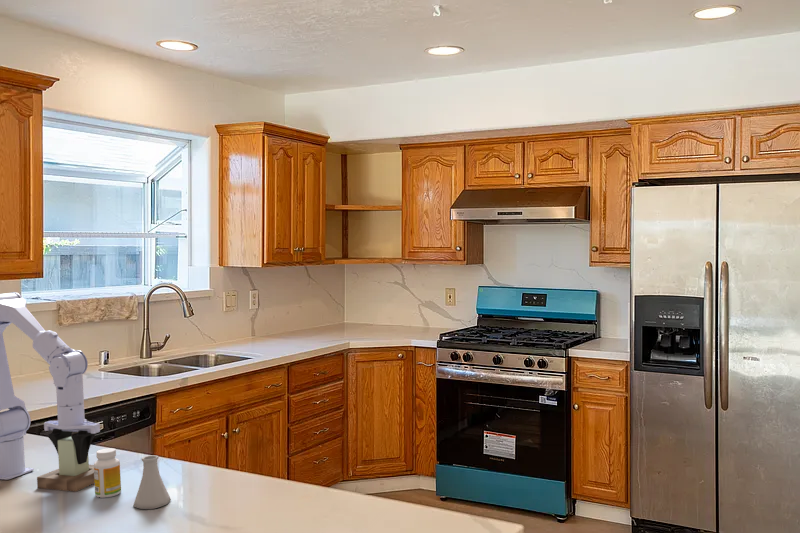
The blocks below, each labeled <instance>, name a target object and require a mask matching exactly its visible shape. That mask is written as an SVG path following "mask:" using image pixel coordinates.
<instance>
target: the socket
mask: <svg viewBox="0 0 800 533" xmlns="http://www.w3.org/2000/svg"><path fill="white" fill-rule="evenodd" d="M36 482H37V483H36V484H37V489H45V490H56V491H65V492H66V491H67V492H79V491H81V490H83V489H85V487H86V488H88V487H90V486H92V485H95V484H94V464H89V471H86V472H84V473H82V474H79V475H77V476H67V475H59V468H57V469H53V470H52V471H49V472H47V473H44V474H42V475H39V476H37V477H36ZM91 484H92V485H91ZM89 485H90V486H89ZM87 486H88V487H87Z"/></svg>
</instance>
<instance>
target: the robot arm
mask: <svg viewBox="0 0 800 533" xmlns="http://www.w3.org/2000/svg"><path fill="white" fill-rule="evenodd" d="M27 307H28V306H27V300H26V299H24V298H23V297H22V295H21V294H20V293H19V292H16V291H10V292H7V293H5V292H4V293H0V411H1V412H0V480H6V481H7V480H12V479H14V478H17V477H19V476H20V477H21V476H22V475H24V474H28V473H30V472H33V471H34V470H35V468H32V467H26V460H25V458H26V457H25V456H26V455H25V441H24V440H25V438H24V436H26V435H27V431H28V430H29V429H30V425H31V424H32V423H31V422H32V419H31V416H30V415H31V414H30V412H29V411H28V409H27V407H26V402H25V400H23V399H21V398H19V397H17V396H16V395H15V392H14V386H13V382H12V376H11V371H10V367H9V366H10V365H9V360H8V356H7V350H6V345H5V340H4V339H5V338H4V336H3V333H4V331H5V330H6V329H7V327H9V326H10V325H11V324H13V325H15V326H16V327H17V328H18V329H19V330H20V331H21V332H22V333H24V334H25V335H26V336H27V337H28V338H30V340H32V349H34V351H36V353H37V354H38V355H40V357H41V358H42V359H43V360H44V361H45V362H46V363H47V364H48V365H49V366H48V371H49V374H50V375H51V377H52V379H53V380H52V381H53V384H54V386H55V388H56V390H55V391H56V408H57V412H56V413H57V420H48V421H45V422H44V423H43V429H44V431H45V432H46V431H52V432H51V433H49V434H48V436H47V437H48V439H49V440H50V442H51V443H52V444H53V446H54V448H55V450H56V454H58V440H60V439H63V438H66V437H69V436H71V437H72V439H73V442H74V445H75V448H76V456H77V462H78V464H82V463H85V462H86V461H87V456H88V457H89V451H90V448H91V444H92V442H93V440H94V438H95V437H96V434H97V433H100V432H101V424H100V423H99V422H97V423H96V422H93V421H89V420H88V419H86V418H85V416H86V415H85V398H84V397H85V396H84V395H85V394H84V379H83V374H85V373H86V371H87V370H88V364H89V363H88V358H87V356H86V355H85V354H84V352H83V351H82V350H79V349H74V348H71V347H70V346H69V345H68V344H66V342H65V341H64V340H63V339H62V338H60V336H59V334H58V333H57V332H56V331H53V330H45V328H44V327H43V326H42V325H41V324H40V322H39V321H38V319H37V318H36V317H35V316H34V315H33V314H32V313H31V312H30V310H29V309H28V308H27ZM6 409H7V410H6ZM2 410H3V411H2ZM74 432H75V433H74ZM76 432H77V433H76Z"/></svg>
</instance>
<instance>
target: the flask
mask: <svg viewBox="0 0 800 533" xmlns="http://www.w3.org/2000/svg"><path fill="white" fill-rule="evenodd" d="M159 459H160V458H159V455H154V454H153V455H146V456H143V457H142V458H141V462H142V463H143V470H142V476H141V480H140V483H139V487H138V489H137V492H136V496H135V499H134V502H133V505H132V507H134V508H137V509H140V510H147V509H148V510H149V509H153V510H154V509H157V508H160V507H164V506H166V505H168V504H169V502H170V501H171V500H172V499H171V497H170V494H169V492H168V491H167V490H168V489H167V488H166V486H165V484H164V481H163V479H162V477H161V473H160V470H159V467H158V460H159Z"/></svg>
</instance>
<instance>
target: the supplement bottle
mask: <svg viewBox="0 0 800 533" xmlns="http://www.w3.org/2000/svg"><path fill="white" fill-rule="evenodd" d="M116 450H117V449H116V448H113V447H110V448H108V447H107V448H102V449H98V450H97V451H96V459H97V460H95V461H94V463H93V465H94V483H95V484H94V496H95V497H97V498H99V497H100V499H101V498H103V499H105V498H113V497H115V496H118V495H120V494H121V492H122V481H121V479H122V478H121V463H120V459H118V458H116V456H117V451H116Z"/></svg>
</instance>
